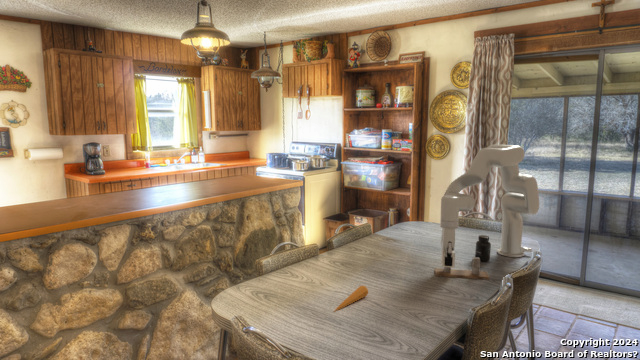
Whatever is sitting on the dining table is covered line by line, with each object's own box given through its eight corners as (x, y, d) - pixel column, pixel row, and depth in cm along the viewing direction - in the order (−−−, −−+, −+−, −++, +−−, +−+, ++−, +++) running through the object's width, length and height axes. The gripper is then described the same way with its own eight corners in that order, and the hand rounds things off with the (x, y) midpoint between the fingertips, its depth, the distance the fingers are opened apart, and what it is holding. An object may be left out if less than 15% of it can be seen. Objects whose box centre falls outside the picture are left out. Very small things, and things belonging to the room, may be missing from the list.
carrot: (362, 295, 160) (358, 284, 160) (371, 294, 157) (367, 283, 157) (330, 318, 146) (326, 306, 146) (339, 317, 142) (335, 305, 143)
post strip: (486, 273, 181) (486, 256, 180) (489, 279, 175) (490, 261, 173) (434, 270, 186) (435, 253, 185) (436, 275, 179) (436, 258, 178)
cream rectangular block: (441, 263, 184) (441, 248, 183) (453, 263, 183) (453, 249, 182) (442, 266, 179) (442, 252, 178) (454, 267, 178) (455, 253, 177)
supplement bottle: (474, 260, 198) (475, 237, 197) (475, 256, 204) (477, 233, 203) (489, 263, 195) (490, 238, 194) (490, 259, 201) (491, 235, 200)
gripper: (438, 219, 187) (437, 257, 190) (442, 228, 171) (440, 269, 173) (455, 219, 186) (454, 258, 188) (460, 228, 169) (459, 270, 172)
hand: (447, 263), depth 181 cm, fingers closed on cream rectangular block, 4 cm apart
